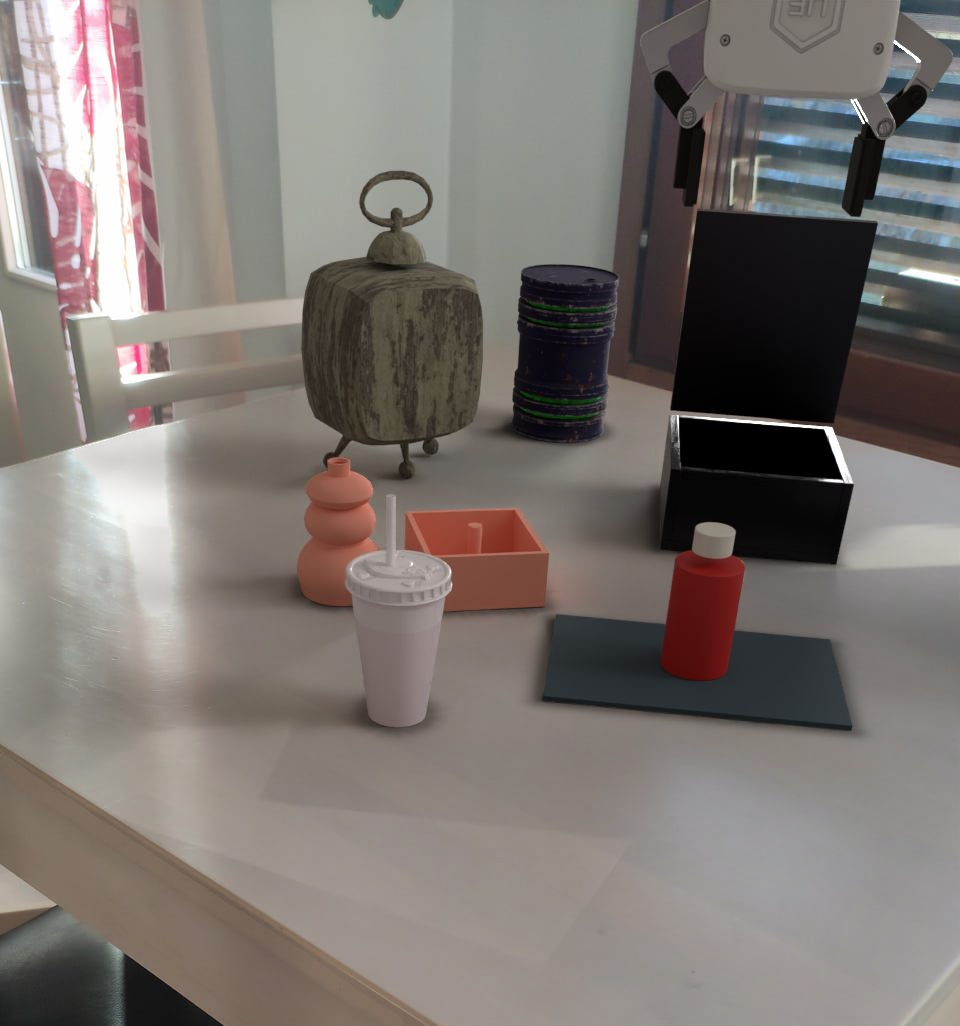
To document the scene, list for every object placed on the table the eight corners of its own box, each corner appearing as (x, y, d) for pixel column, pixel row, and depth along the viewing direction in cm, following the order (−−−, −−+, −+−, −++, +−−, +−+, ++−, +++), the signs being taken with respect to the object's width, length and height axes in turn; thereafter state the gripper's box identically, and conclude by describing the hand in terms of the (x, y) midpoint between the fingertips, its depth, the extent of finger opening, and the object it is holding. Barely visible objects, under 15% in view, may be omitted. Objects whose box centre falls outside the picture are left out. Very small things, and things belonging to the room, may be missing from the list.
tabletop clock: (437, 448, 124) (445, 162, 110) (487, 475, 118) (502, 176, 104) (305, 467, 118) (295, 165, 103) (350, 498, 112) (346, 182, 97)
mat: (829, 644, 92) (830, 639, 91) (851, 731, 81) (852, 725, 81) (555, 618, 93) (555, 613, 93) (542, 701, 82) (542, 695, 82)
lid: (878, 223, 102) (876, 220, 102) (697, 210, 103) (697, 208, 103) (833, 423, 112) (833, 420, 113) (670, 410, 113) (670, 407, 114)
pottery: (514, 558, 102) (522, 436, 96) (544, 606, 95) (555, 477, 89) (291, 567, 98) (286, 440, 93) (304, 618, 91) (299, 484, 85)
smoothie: (378, 680, 84) (378, 471, 75) (464, 704, 81) (474, 492, 73) (327, 721, 79) (321, 502, 71) (417, 748, 77) (422, 525, 69)
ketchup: (725, 654, 88) (749, 519, 83) (728, 684, 85) (753, 545, 79) (660, 648, 89) (679, 513, 83) (660, 677, 85) (680, 539, 79)
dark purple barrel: (490, 423, 132) (498, 269, 123) (556, 409, 138) (568, 260, 129) (558, 448, 126) (572, 288, 118) (624, 432, 132) (641, 278, 123)
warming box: (836, 564, 104) (854, 484, 100) (659, 549, 105) (670, 468, 101) (817, 501, 117) (832, 427, 113) (659, 487, 118) (669, 414, 114)
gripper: (662, -173, 63) (625, 209, 72) (1015, -156, 62) (928, 227, 72) (658, -160, 69) (624, 191, 79) (978, -145, 68) (903, 208, 78)
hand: (769, 208), depth 75 cm, fingers open, 9 cm apart
